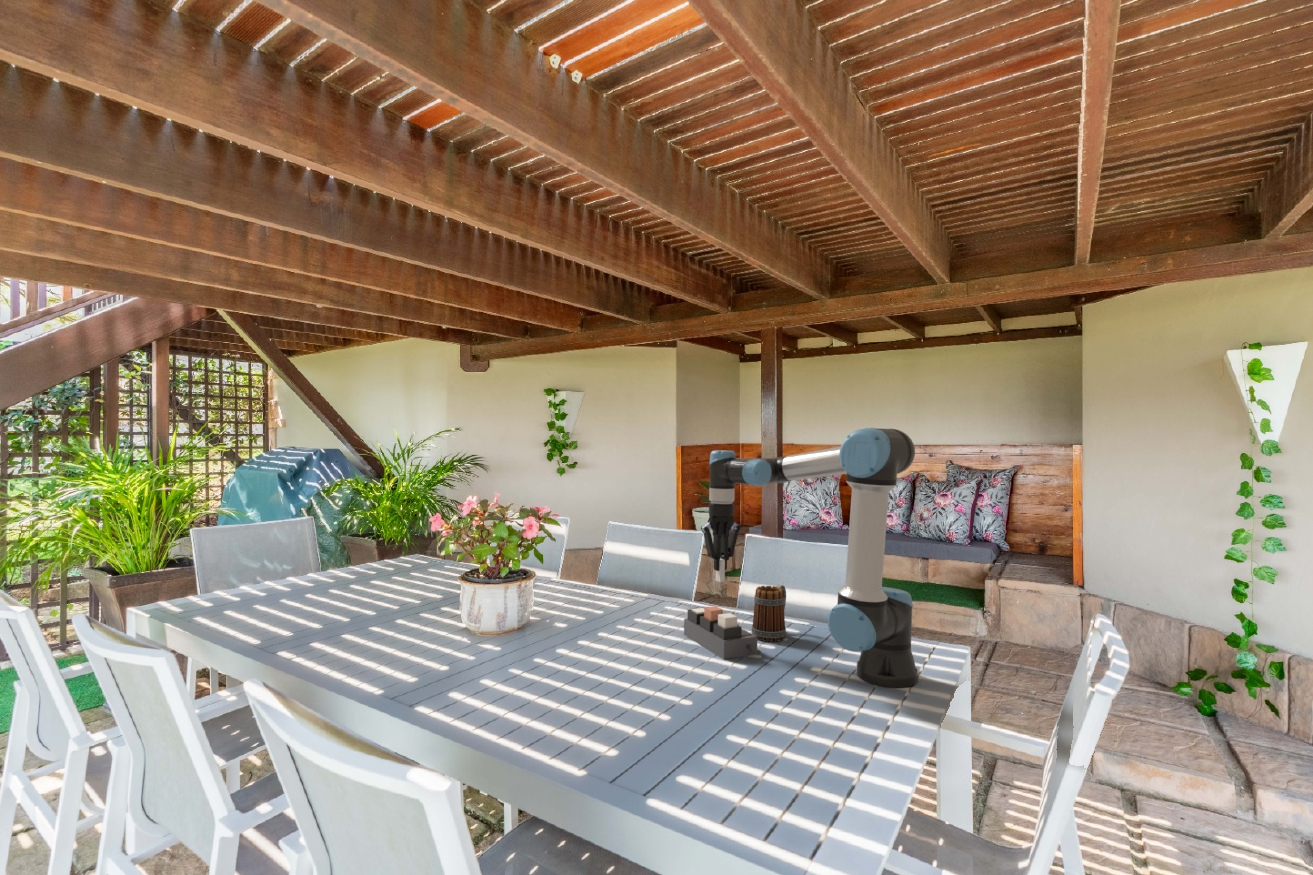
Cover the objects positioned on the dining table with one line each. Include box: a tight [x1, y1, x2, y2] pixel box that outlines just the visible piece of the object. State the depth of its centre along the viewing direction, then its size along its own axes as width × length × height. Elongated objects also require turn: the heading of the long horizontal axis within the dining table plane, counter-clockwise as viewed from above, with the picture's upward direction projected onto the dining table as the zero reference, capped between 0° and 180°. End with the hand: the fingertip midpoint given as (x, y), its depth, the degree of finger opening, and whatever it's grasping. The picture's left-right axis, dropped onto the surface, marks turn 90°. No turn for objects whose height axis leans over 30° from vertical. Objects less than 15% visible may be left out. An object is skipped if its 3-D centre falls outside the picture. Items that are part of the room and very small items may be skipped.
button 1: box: [718, 612, 738, 628], centre depth 187 cm, size 4×4×3 cm
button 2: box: [703, 606, 724, 621], centre depth 194 cm, size 4×4×3 cm
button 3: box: [691, 607, 705, 614], centre depth 201 cm, size 4×4×3 cm
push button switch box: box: [683, 608, 762, 660], centre depth 192 cm, size 30×11×8 cm, turn 25°
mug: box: [751, 584, 787, 643], centre depth 204 cm, size 16×11×15 cm
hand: (719, 581), depth 195 cm, fingers closed
